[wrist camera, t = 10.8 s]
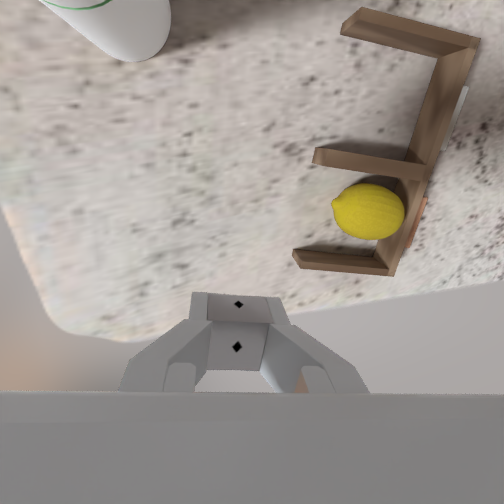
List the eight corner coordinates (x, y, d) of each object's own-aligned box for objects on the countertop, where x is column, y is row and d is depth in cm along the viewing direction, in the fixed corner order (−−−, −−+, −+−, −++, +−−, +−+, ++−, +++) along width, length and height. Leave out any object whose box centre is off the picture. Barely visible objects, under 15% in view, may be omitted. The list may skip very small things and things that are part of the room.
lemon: (322, 185, 31) (385, 202, 33) (315, 234, 30) (380, 249, 32) (351, 165, 26) (424, 187, 28) (343, 223, 25) (419, 242, 27)
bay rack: (342, 23, 25) (361, 6, 22) (477, 57, 27) (512, 47, 24) (291, 255, 33) (300, 268, 30) (400, 265, 35) (419, 278, 32)
